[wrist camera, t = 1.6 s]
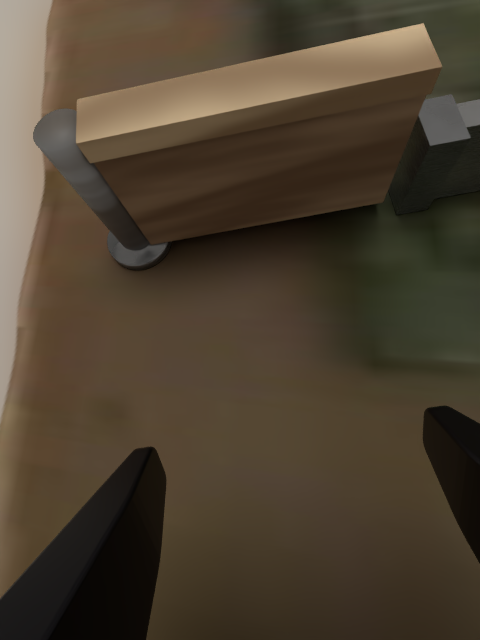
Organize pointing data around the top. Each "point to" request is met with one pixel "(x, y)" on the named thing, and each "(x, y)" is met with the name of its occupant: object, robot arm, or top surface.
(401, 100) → the gate
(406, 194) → the gate frame
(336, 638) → the top surface
